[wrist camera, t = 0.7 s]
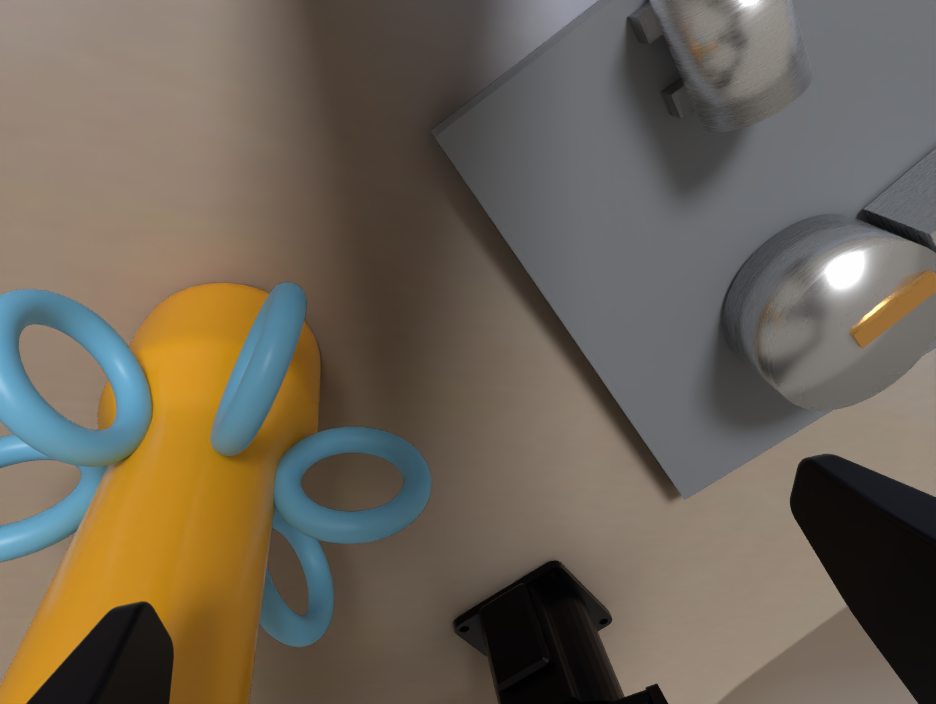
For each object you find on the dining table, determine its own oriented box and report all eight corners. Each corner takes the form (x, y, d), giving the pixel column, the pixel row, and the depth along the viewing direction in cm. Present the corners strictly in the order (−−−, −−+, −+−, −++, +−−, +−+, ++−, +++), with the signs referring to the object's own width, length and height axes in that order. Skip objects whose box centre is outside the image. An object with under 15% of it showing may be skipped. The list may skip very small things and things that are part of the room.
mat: (968, 305, 26) (989, 315, 25) (674, 485, 28) (684, 499, 27) (879, -217, 16) (909, -230, 15) (430, 131, 18) (434, 137, 17)
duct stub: (771, 56, 18) (846, 64, 15) (674, 125, 18) (731, 145, 16) (728, -80, 16) (806, -98, 13) (620, 2, 16) (675, 2, 14)
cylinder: (444, 407, 23) (571, 884, 11) (222, 523, 24) (94, 1093, 12) (252, 119, 17) (-4, 455, 4) (-42, 290, 18) (-988, 998, 5)
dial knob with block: (769, 394, 25) (823, 442, 22) (693, 304, 22) (744, 347, 19) (1024, 193, 22) (1120, 219, 19) (977, 58, 19) (1083, 67, 16)
